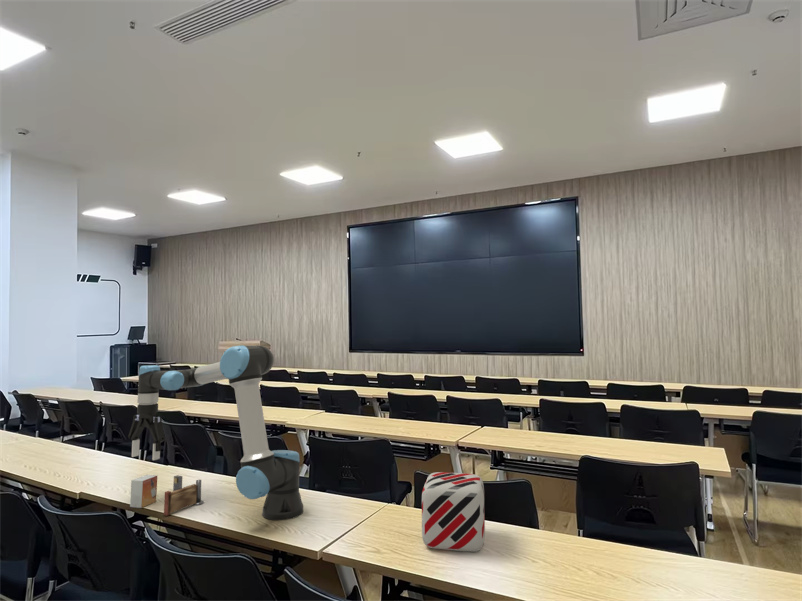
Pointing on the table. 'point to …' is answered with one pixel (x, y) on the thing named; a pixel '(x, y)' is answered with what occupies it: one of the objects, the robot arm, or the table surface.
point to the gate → (179, 499)
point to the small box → (143, 491)
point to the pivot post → (198, 493)
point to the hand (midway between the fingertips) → (145, 457)
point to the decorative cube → (453, 511)
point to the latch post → (177, 482)
